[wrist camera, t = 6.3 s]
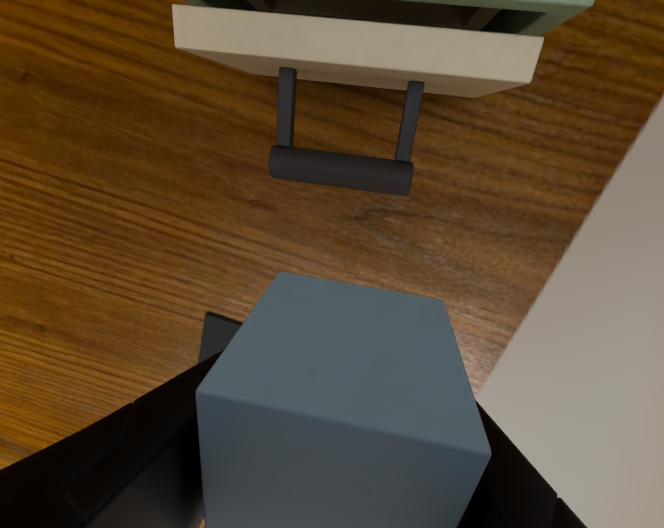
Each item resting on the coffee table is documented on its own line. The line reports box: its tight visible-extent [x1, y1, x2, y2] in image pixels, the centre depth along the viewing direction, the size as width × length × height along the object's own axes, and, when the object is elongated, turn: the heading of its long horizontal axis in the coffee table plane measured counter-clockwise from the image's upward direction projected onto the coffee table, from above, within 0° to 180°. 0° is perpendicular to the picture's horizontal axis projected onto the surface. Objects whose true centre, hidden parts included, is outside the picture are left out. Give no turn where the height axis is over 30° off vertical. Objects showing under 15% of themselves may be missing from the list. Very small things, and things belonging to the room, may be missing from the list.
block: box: [196, 272, 491, 528], centre depth 7 cm, size 4×4×4 cm
